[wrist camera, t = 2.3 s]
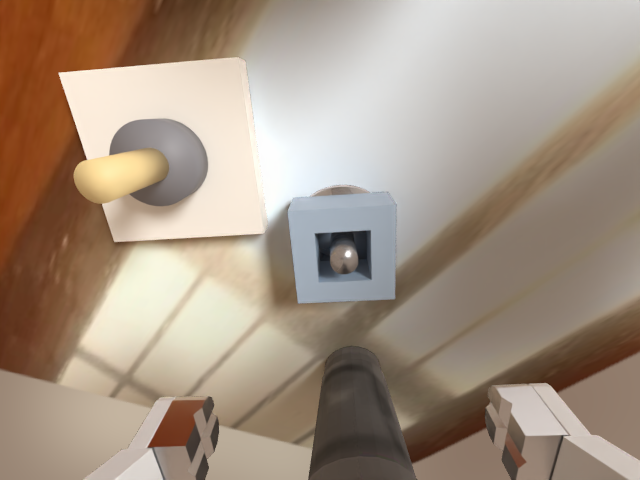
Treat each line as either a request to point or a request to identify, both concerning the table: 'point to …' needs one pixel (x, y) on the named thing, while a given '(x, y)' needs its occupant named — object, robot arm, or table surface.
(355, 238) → the stand
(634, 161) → the table surface
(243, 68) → the hub
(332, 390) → the beverage cup
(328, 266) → the ring
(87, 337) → the table surface
